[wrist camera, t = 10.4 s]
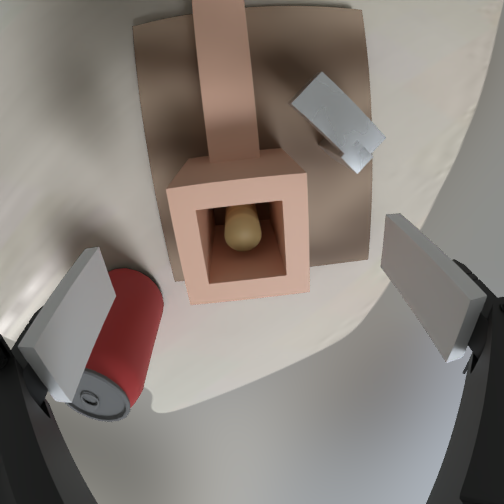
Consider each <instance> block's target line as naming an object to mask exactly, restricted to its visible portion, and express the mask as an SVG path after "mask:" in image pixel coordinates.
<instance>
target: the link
mask: <svg viewBox="0 0 504 504" xmlns="http://www.w3.org/2000/svg"><path fill="white" fill-rule="evenodd" d="M192 9H193V20H194V30H195V40H196V50H197V59H198V68H199V78H200V86H201V95H202V104H203V112H204V120H205V128H206V136H207V144H208V152H209V156H203V157H196V158H189V159H188V160H187V161H186V163H185V164H184V165H183V167H182V168H181V169H180V171H179V172H178V173H177V175H176V176H175V177H174V179H173V180H172V181H171V183H170V184H169V185H168V187H167V188H166V193H167V198H168V203H169V209H170V214H171V219H172V224H173V229H174V234H175V238H176V243H177V248H178V253H179V257H180V262H181V266H182V271H183V275H184V279H185V284H186V288H187V292H188V296H189V300H190V304H191V305H196V304H207V303H217V302H227V301H237V300H246V299H255V298H264V297H272V296H281V295H289V294H297V293H305V292H310V263H309V214H308V187H307V173H306V172H305V171H304V170H303V169H302V168H301V167H300V166H299V165H298V164H297V163H296V162H295V161H294V160H293V159H292V158H291V157H290V156H289V155H288V154H287V153H286V152H285V151H284V150H283V149H282V148H276V149H265V150H260V149H259V138H258V128H257V118H256V107H255V97H254V87H253V78H252V68H251V58H250V49H249V40H248V31H247V22H246V13H245V4H244V0H192ZM262 202H268V203H269V215H270V220H261V221H259V224H260V228H261V240H260V242H259V244H258V245H257V246H256V247H255V248H253V249H252V250H249V251H244V252H242V251H236V250H234V249H232V248H231V247H230V246H229V245H228V244H227V242H226V240H225V235H224V234H225V225H217V226H216V225H215V218H214V211H213V208H218V207H226V206H235V205H244V204H253V203H262Z"/></svg>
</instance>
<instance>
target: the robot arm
mask: <svg viewBox="0 0 504 504" xmlns="http://www.w3.org/2000/svg"><path fill="white" fill-rule="evenodd" d="M381 268H382V269H383V271H384V272H385V273H386V275H387V276H388V277H389V279H390V280H391V281H392V283H393V284H394V286H395V287H396V288H397V290H398V291H399V293H400V294H401V295H402V297H403V298H404V300H405V301H406V302H407V304H408V305H409V307H410V308H411V310H412V311H413V313H414V314H415V315H416V317H417V318H418V320H419V321H420V323H421V324H422V326H423V327H424V329H425V331H426V332H427V334H428V335H429V337H430V338H431V340H432V341H433V343H434V344H435V346H436V347H437V349H438V351H439V352H440V354H441V355H442V357H443V358H444V360H445V362H446V363H448V362H451V361H453V360H457V359H460V358H462V357H463V355H464V353H465V351H466V348H467V346H469V347H470V349H471V350H472V351H473V352H472V355H471V357H470V359H469V361H468V363H467V365H466V367H465V369H464V371H463V374H465V373H466V371H467V375H466V380H465V385H464V390H463V395H462V398H461V403H460V407H459V411H458V414H457V418H456V422H455V425H454V429H453V432H452V435H451V439H450V442H449V445H448V448H447V451H446V454H445V458H444V460H443V463H442V466H441V468H440V471H439V474H438V476H437V479H436V481H435V484H434V486H433V489H432V491H431V493H430V496H429V498H428V500H427V503H426V504H504V297H500V298H497V297H496V296H495V295H494V294H493V293H492V292H491V291H490V290H489V289H488V288H487V287H486V286H485V284H483V282H482V281H481V280H478V278H477V276H475V275H474V274H472V272H471V271H470V270H469V269H468V268H467V267H466V266H465V265H464V264H462V263H460V262H458V261H457V260H451V259H450V258H449V257H448V256H447V255H446V254H445V253H444V252H443V251H442V250H441V249H440V248H439V247H437V245H435V244H434V243H433V242H432V241H431V240H430V239H429V238H428V237H427V236H426V235H424V234H423V233H422V232H421V231H420V230H419V229H418V228H417V227H415V226H414V225H413V224H412V223H411V222H410V221H408V220H407V219H406V218H405V217H404V216H403V215H401V214H400V213H398V214H386V219H385V230H384V241H383V250H382V259H381ZM115 297H116V294H115V291H114V289H113V286H112V283H111V280H110V277H109V275H108V272H107V269H106V266H105V263H104V260H103V257H102V254H101V251H100V248H99V247H94V248H87V249H85V250H84V251H83V253H82V254H81V255H80V256H79V258H78V259H77V260H76V262H75V263H74V264H73V266H72V267H71V268H70V270H69V271H68V272H67V274H66V275H65V276H64V278H63V279H62V280H61V282H60V283H59V285H58V286H57V287H56V289H55V290H54V292H53V293H52V294H51V296H50V297H49V299H48V300H47V302H46V303H45V305H44V306H42V307H41V308H40V309H39V310H38V311H37V312H36V313H34V315H33V316H32V318H31V319H30V321H29V324H27V326H26V327H25V330H23V332H22V333H21V335H20V336H19V338H18V340H17V341H16V343H15V345H14V346H13V348H12V350H10V348H9V347H8V345H7V344H6V342H5V340H4V339H3V337H2V335H1V334H0V504H97V502H96V500H95V498H94V497H93V495H92V493H91V492H90V490H89V488H88V487H87V485H86V483H85V481H84V479H83V477H82V475H81V474H80V472H79V470H78V468H77V466H76V464H75V462H74V460H73V458H72V456H71V454H70V452H69V450H68V447H67V445H66V443H65V441H64V439H63V437H62V434H61V432H60V430H59V428H58V425H57V423H56V420H55V418H54V415H53V413H52V410H51V408H50V405H49V403H48V402H47V400H46V399H45V396H46V394H47V392H49V393H50V394H51V396H52V397H53V398H54V400H55V401H60V402H68V403H72V401H73V398H74V395H75V393H76V390H77V387H78V385H79V382H80V379H81V377H82V374H83V372H84V369H85V367H86V364H87V362H88V359H89V357H90V354H91V352H92V349H93V347H94V345H95V342H96V340H97V338H98V335H99V333H100V331H101V328H102V326H103V324H104V321H105V319H106V317H107V315H108V313H109V310H110V308H111V306H112V304H113V302H114V300H115Z"/></svg>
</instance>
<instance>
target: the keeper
mask: <svg viewBox="0 0 504 504" xmlns="http://www.w3.org/2000/svg"><path fill="white" fill-rule="evenodd" d="M287 104H289V105H290V106H291V107H292V108H293V109H294V110H295V111H296V112H298V113H299V114H300V115H301V116H302V117H303V118H304V119H305V120H306V121H308V122H309V123H310V124H311V125H312V126H313V127H314V128H315V129H316V130H317V131H318V132H319V133H320V134H321V135H323V136H324V137H325V138H324V139H323V140H322V141H321V142H320V143H319V144H318V145H319V146H320V147H321V148H322V149H323V150H324V151H325V152H326V153H327V154H328V155H329V156H330V157H331V158H333V159H334V160H336V161H338V162H339V163H341V164H342V165H344V166H346V167H347V168H349V169H350V170H352V171H353V172H355V173H357V174H358V173H359V172H360V171H361V170H362V169H363V168H364V166H365V165H366V164H367V163H368V162H369V161H370V160H371V159H372V158H373V156H372V155H371V153H372V152H373V151H374V150H375V149H376V148H377V147H378V146H379V145H380V144H381V143H382V141H383V140H384V139H385V138H386V137H385V136H384V135H383V133H382V132H381V131H380V130H379V129H378V128H377V127H376V126H375V124H374V123H373V122H372V121H371V120H370V119H369V118H368V117H367V116H366V115H365V114H364V113H363V111H362V110H361V109H360V108H359V107H358V106H357V105H356V104H355V103H354V102H353V101H352V100H351V99H350V98H349V97H348V96H347V95H346V94H345V93H344V92H343V91H342V90H341V89H340V88H339V87H338V86H337V85H336V84H335V83H334V82H333V81H332V80H331V79H330V78H328V77H327V76H326V75H325V74H324V73H323V72H319V73H316V74H315V75H314V76H313V77H312V78H311V79H310V80H309V81H308V82H307V83H306V84H305V85H304V87H303V88H302V89H301V90H300V91H299V92H298V93H297V94H296V95H295V96H294V97H293V98H292V99H291V100H290V101H289V102H288V103H287Z"/></svg>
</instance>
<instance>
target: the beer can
mask: <svg viewBox="0 0 504 504" xmlns="http://www.w3.org/2000/svg"><path fill="white" fill-rule="evenodd" d="M108 275H109V277H110V280H111V283H112V286H113V289H114V291H115V294H116V297H115V300H114V302H113V304H112V306H111V308H110V310H109V313H108V315H107V317H106V319H105V321H104V324H103V326H102V328H101V331H100V333H99V335H98V338H97V340H96V342H95V345H94V347H93V349H92V352H91V354H90V357H89V359H88V362H87V364H86V367H85V369H84V372H83V374H82V377H81V379H80V382H79V385H78V387H77V390H76V393H75V395H74V398H73V401H72V403H68V402H65V403H66V404H67V405H68V406H69V407H71V408H72V409H73V410H75V411H77V412H78V413H80V414H82V415H84V416H86V417H89V418H92V419H95V420H99V421H107V422H112V421H119V420H121V419H123V418H125V417H127V415H128V414H129V412H130V408H131V407H132V406H133V405H134V403H135V402H136V400H137V399H138V397H139V396H140V394H141V392H142V390H143V387H144V383H145V379H146V375H147V370H148V366H149V362H150V358H151V354H152V350H153V347H154V343H155V339H156V335H157V331H158V328H159V324H160V320H161V317H162V313H163V306H164V302H163V298H162V294H161V292H160V290H159V289H158V287H157V286H156V284H155V283H154V282H153V281H152V280H151V279H150V278H149V277H147V276H146V275H144V274H142V273H140V272H138V271H136V270H131V269H127V268H122V269H114V270H112V271H109V272H108Z"/></svg>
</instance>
